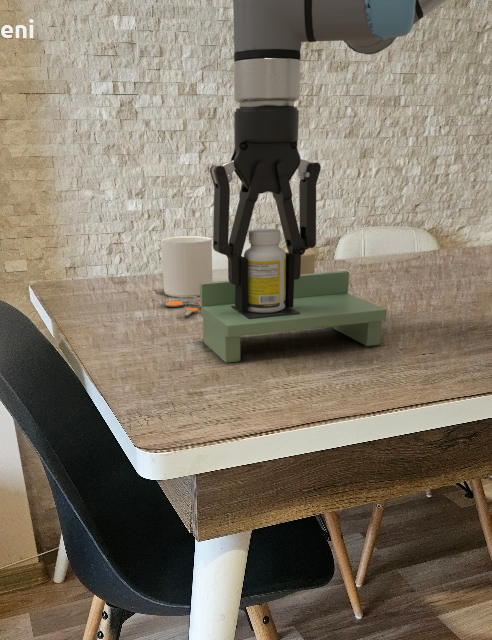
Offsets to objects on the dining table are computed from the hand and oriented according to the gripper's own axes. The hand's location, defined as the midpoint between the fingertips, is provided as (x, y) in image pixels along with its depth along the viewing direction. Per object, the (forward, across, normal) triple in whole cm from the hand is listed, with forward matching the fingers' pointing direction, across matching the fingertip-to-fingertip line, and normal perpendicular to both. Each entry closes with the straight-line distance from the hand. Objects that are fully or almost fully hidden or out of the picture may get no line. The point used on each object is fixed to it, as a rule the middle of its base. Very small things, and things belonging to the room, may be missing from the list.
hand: (264, 306), depth 87 cm
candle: (+6, -14, -22) cm, 26 cm away
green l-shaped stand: (+6, -4, 0) cm, 7 cm away
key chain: (+6, +3, -26) cm, 27 cm away
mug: (+6, 0, -40) cm, 41 cm away
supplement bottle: (+1, 0, 0) cm, 1 cm away
